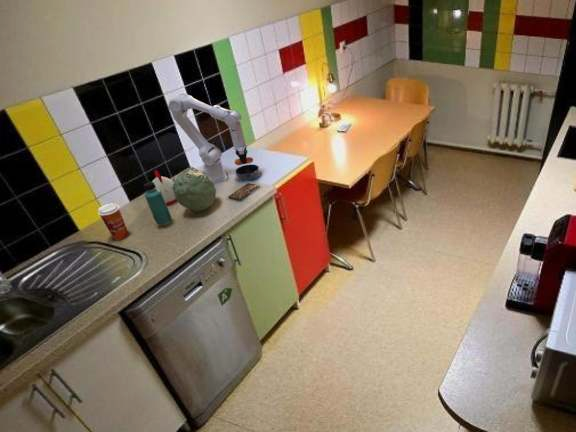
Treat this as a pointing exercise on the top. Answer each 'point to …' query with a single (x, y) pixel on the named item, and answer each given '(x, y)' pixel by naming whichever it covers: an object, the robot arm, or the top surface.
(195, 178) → the cabbage
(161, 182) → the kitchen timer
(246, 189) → the board
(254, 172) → the dark blue bowl
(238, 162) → the hot dog
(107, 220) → the paper cup
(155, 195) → the beverage bottle
